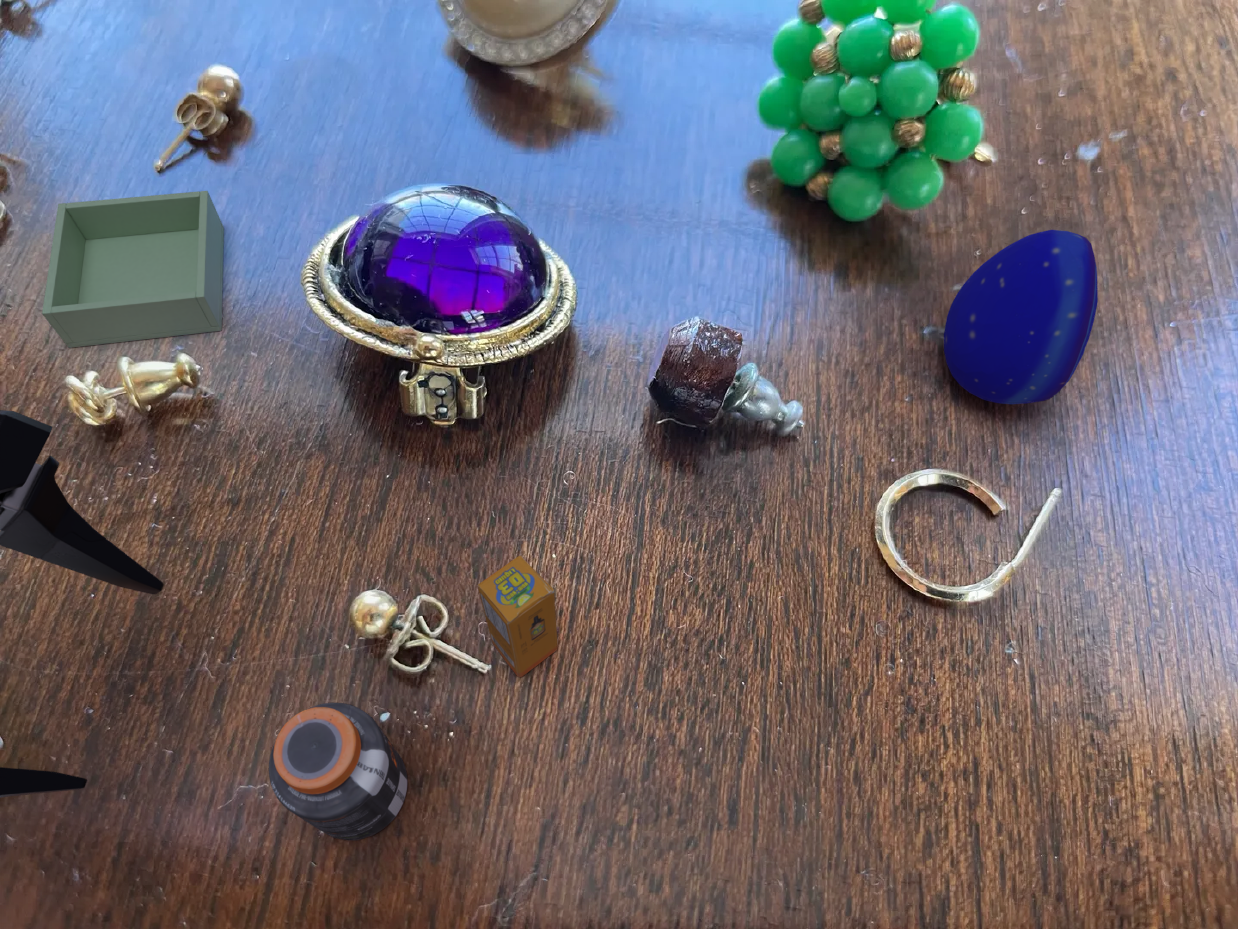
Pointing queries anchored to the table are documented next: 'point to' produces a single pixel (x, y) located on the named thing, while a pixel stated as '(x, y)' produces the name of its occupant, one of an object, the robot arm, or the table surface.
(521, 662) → the supplement box
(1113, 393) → the table surface
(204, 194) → the bin
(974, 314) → the ornament
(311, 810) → the pill bottle
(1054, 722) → the table surface
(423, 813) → the table surface
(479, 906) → the table surface
